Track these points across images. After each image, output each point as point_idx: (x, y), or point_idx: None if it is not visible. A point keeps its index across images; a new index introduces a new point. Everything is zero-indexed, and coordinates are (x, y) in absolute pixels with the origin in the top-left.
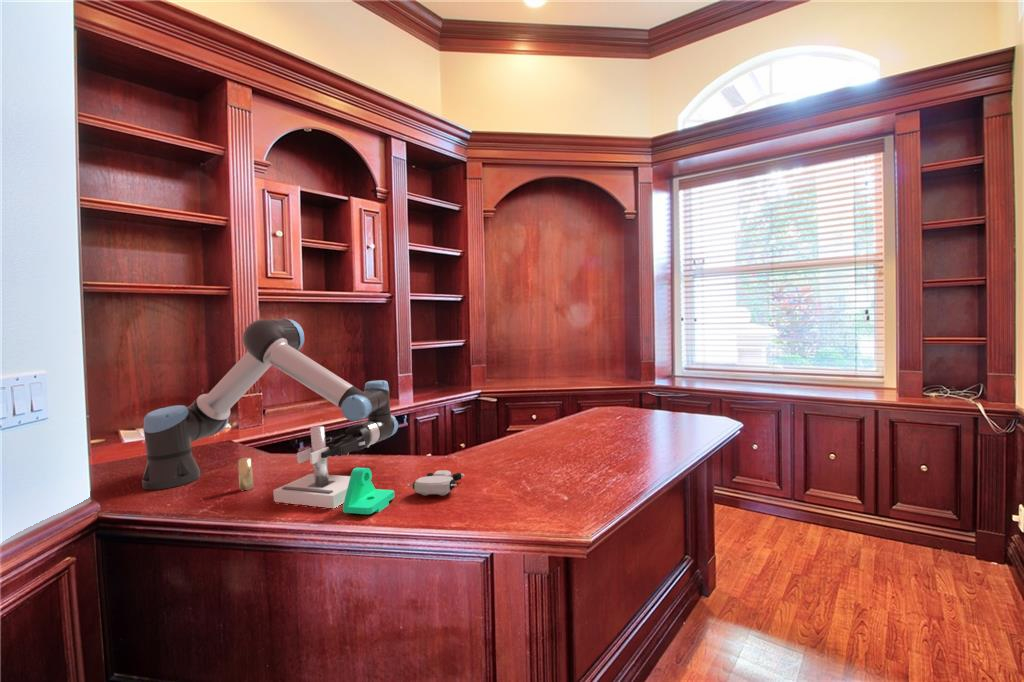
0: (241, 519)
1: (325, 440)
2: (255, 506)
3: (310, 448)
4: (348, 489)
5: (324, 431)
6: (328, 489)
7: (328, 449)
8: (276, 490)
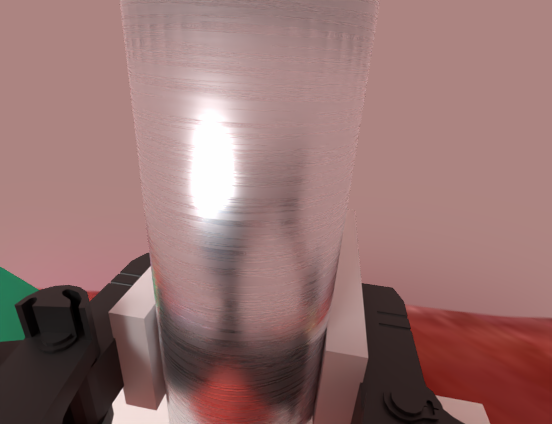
0: (414, 312)
1: (149, 243)
2: (504, 407)
3: (344, 287)
4: (15, 279)
5: (129, 75)
6: (148, 412)
7: (120, 325)
8: (458, 400)
